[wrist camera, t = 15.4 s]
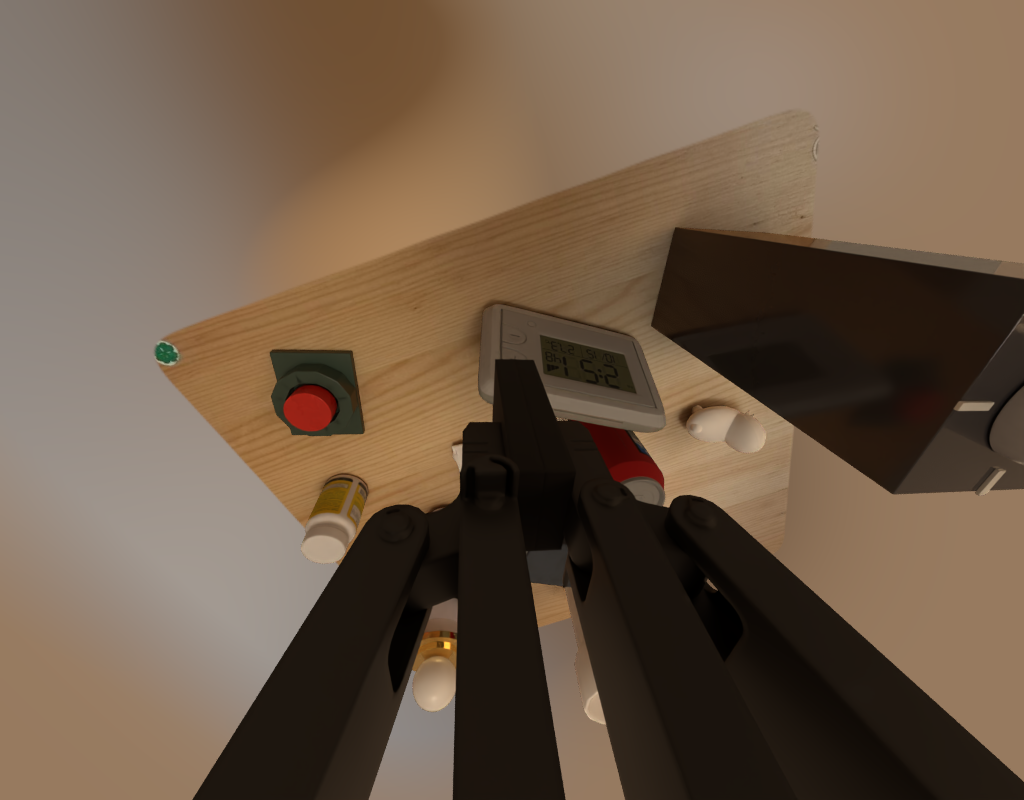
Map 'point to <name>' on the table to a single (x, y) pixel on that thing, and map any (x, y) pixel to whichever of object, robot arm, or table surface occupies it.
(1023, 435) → the hob knob
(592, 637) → the robot arm
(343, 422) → the button box
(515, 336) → the digital clock
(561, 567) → the box
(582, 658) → the cup
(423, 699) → the perfume bottle
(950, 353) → the pillar
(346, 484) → the supplement bottle
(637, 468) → the beverage can
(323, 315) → the table surface
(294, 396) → the button
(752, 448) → the toy creature
